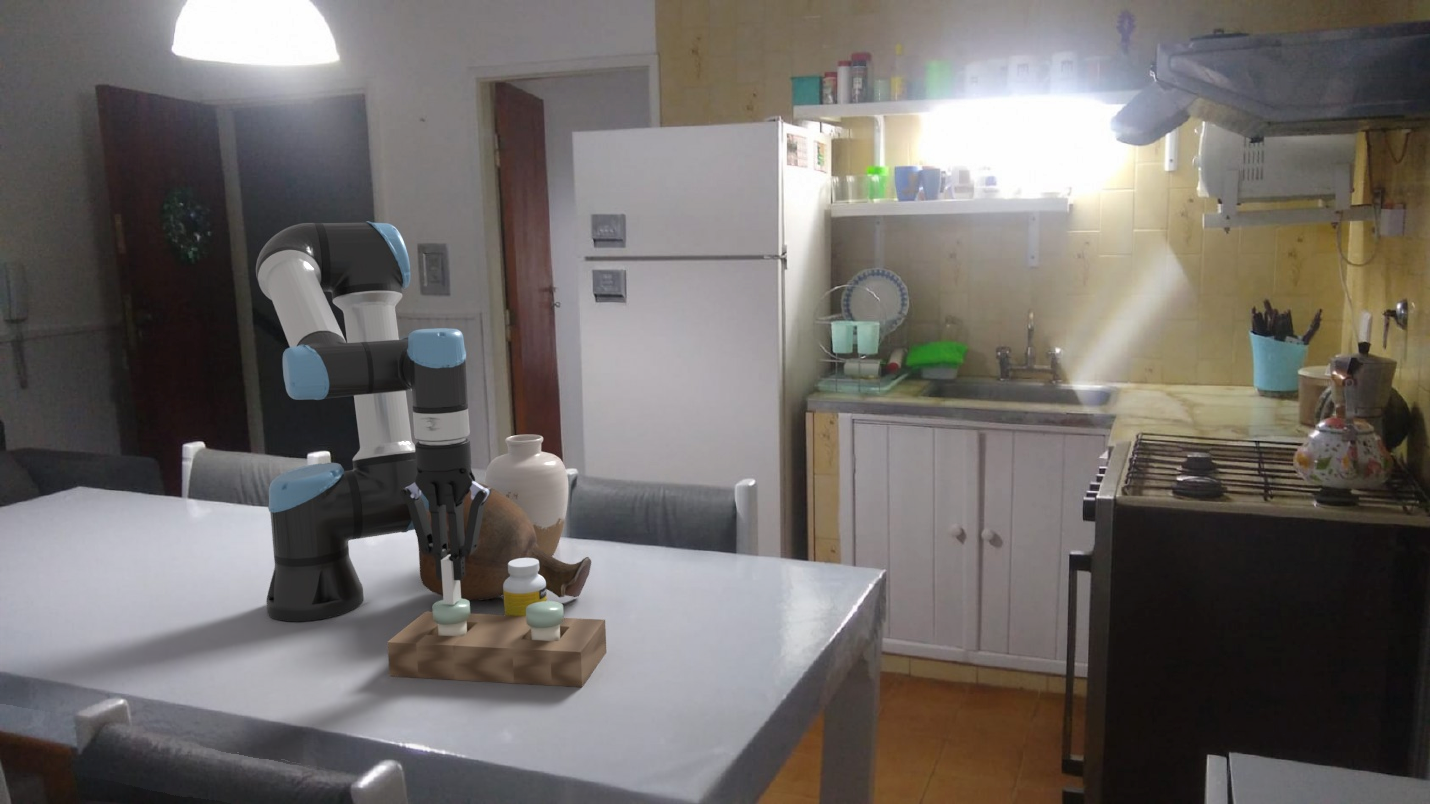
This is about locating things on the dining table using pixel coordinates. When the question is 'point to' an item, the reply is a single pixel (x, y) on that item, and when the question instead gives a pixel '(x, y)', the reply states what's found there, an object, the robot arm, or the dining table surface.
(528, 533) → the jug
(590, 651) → the mount
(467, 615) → the knob
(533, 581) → the pill bottle
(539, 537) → the vase
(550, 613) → the knob
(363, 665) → the dining table surface
